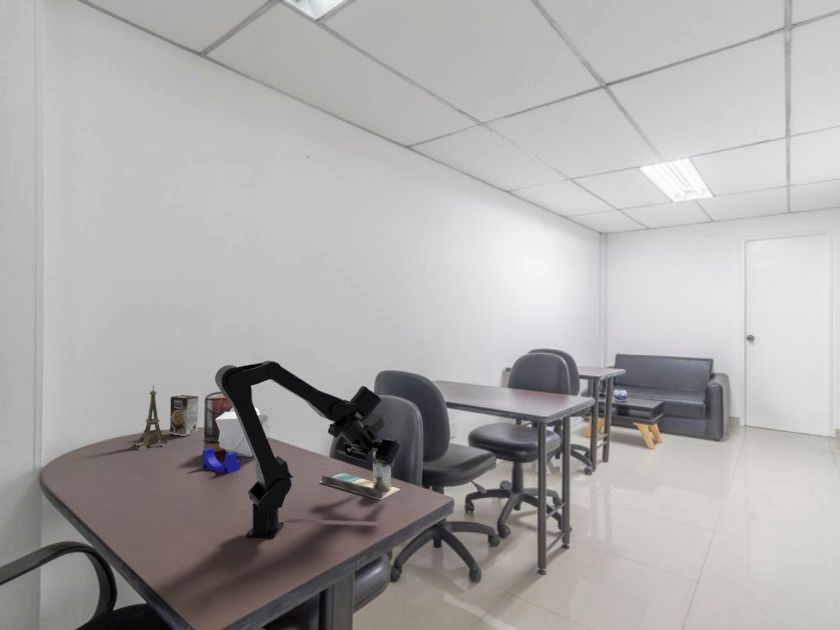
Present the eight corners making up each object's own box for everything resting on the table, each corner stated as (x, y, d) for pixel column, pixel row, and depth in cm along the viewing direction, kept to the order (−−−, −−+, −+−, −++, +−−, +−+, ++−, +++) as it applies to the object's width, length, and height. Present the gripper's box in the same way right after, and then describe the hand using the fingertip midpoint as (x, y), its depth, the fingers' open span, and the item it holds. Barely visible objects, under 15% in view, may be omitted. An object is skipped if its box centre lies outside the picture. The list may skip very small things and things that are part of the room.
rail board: (400, 491, 125) (400, 482, 125) (380, 502, 117) (380, 492, 117) (341, 475, 138) (341, 467, 138) (319, 484, 130) (319, 475, 130)
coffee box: (169, 435, 186) (169, 396, 187) (181, 431, 193) (182, 394, 193) (186, 437, 184) (186, 398, 184) (198, 433, 190) (198, 395, 190)
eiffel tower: (138, 451, 164) (139, 383, 164) (134, 445, 172) (134, 380, 172) (170, 446, 171) (171, 380, 171) (164, 440, 179) (165, 378, 179)
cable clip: (240, 470, 144) (240, 451, 144) (228, 474, 139) (228, 455, 140) (214, 464, 149) (214, 446, 149) (202, 468, 145) (202, 450, 145)
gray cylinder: (389, 492, 122) (389, 452, 122) (371, 492, 122) (371, 452, 123) (391, 486, 127) (392, 447, 127) (374, 485, 127) (374, 447, 128)
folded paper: (245, 400, 174) (203, 410, 160) (286, 406, 161) (244, 419, 147) (248, 442, 175) (206, 457, 161) (288, 452, 162) (247, 469, 148)
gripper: (395, 409, 115) (419, 442, 124) (343, 402, 125) (368, 433, 134) (375, 447, 108) (402, 479, 117) (322, 436, 119) (350, 466, 128)
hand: (380, 462), depth 124 cm, fingers open, 9 cm apart
